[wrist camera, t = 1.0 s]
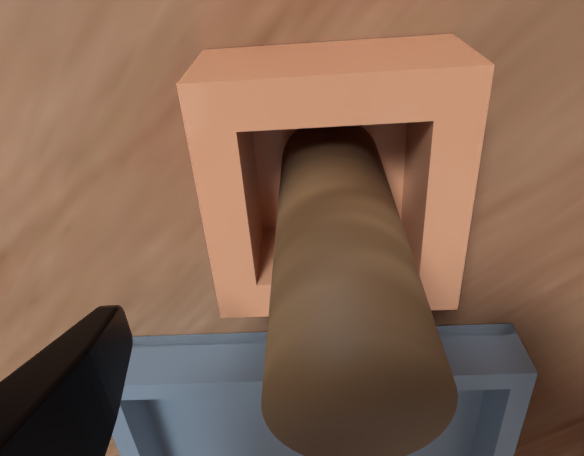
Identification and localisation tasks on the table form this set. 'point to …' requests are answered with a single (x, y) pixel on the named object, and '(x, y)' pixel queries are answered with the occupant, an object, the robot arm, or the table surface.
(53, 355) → the robot arm
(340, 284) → the walnut dowel
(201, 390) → the slate tray
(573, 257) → the table surface
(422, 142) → the terracotta socket
